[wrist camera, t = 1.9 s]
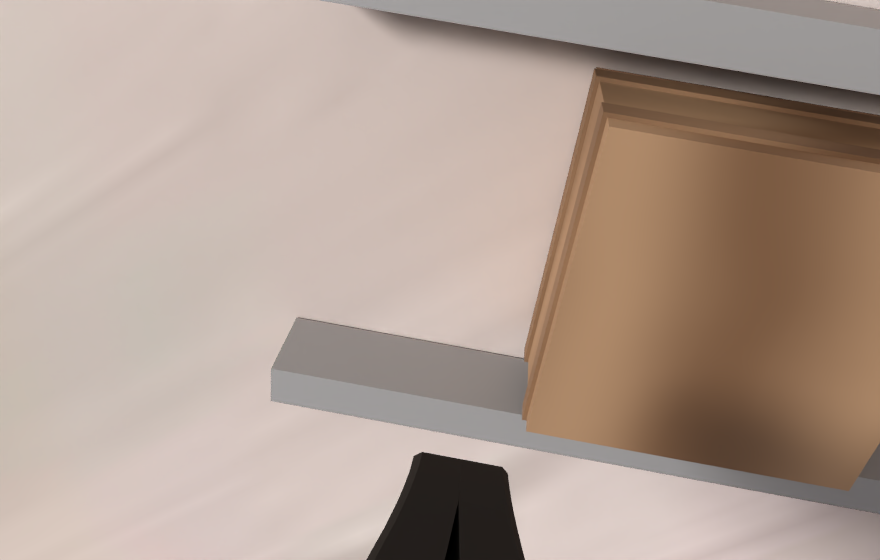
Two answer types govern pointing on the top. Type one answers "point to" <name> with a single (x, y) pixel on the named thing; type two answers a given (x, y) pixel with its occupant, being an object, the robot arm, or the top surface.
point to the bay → (506, 378)
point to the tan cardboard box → (714, 283)
